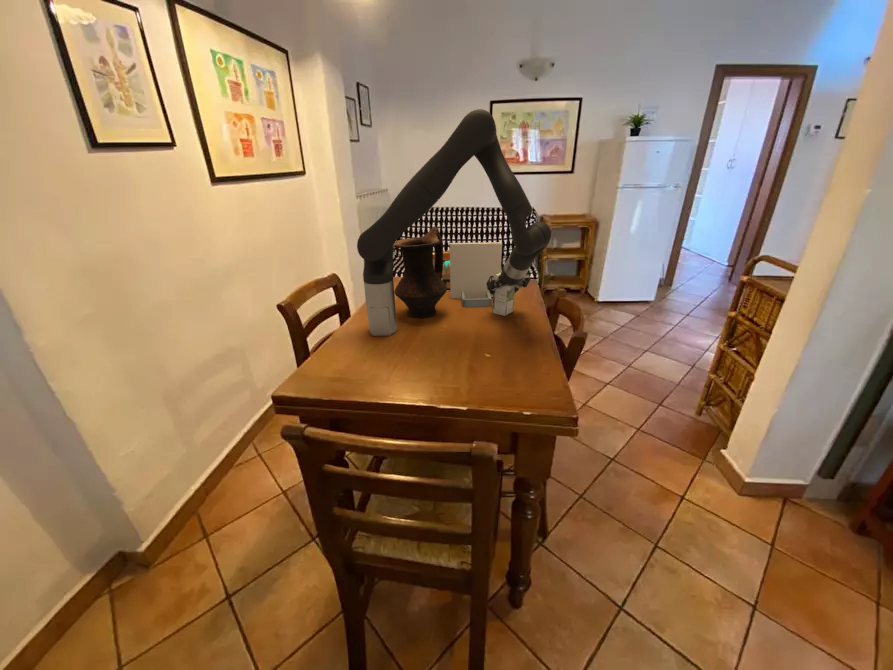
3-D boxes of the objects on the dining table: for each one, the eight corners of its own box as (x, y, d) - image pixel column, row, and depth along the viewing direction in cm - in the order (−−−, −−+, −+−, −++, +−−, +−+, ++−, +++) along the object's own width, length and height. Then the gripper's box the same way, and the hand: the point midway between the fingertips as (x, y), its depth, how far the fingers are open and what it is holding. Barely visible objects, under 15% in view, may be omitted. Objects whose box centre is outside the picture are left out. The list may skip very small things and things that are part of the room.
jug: (424, 329, 124) (420, 238, 111) (385, 317, 134) (378, 232, 121) (461, 310, 139) (461, 228, 126) (423, 301, 149) (420, 224, 137)
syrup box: (500, 308, 140) (502, 271, 134) (513, 312, 137) (516, 273, 131) (491, 313, 136) (493, 274, 130) (505, 316, 133) (507, 277, 127)
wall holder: (503, 306, 143) (506, 248, 133) (451, 307, 143) (450, 249, 133) (498, 296, 153) (501, 242, 144) (450, 296, 153) (449, 243, 144)
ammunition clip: (442, 290, 161) (441, 263, 156) (442, 289, 163) (442, 262, 158) (466, 291, 160) (466, 264, 154) (467, 290, 161) (467, 262, 156)
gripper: (534, 257, 122) (519, 281, 137) (492, 259, 120) (482, 283, 135) (539, 277, 119) (523, 299, 134) (496, 280, 117) (485, 302, 132)
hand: (502, 291), depth 135 cm, fingers closed on syrup box, 8 cm apart
